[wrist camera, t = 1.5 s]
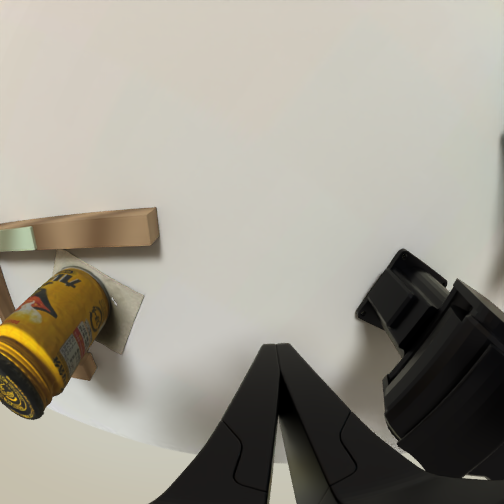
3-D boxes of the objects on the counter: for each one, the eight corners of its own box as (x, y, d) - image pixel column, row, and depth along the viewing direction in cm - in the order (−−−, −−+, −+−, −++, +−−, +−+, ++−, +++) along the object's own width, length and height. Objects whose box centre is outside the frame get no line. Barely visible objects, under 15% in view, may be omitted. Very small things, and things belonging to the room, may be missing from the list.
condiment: (58, 245, 20) (-41, 325, 9) (144, 294, 21) (79, 414, 10) (48, 309, 22) (-22, 392, 11) (122, 352, 24) (74, 458, 13)
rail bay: (156, 207, 19) (145, 216, 17) (185, 376, 25) (181, 394, 22) (-15, 226, 19) (-29, 233, 17) (31, 354, 25) (22, 366, 22)
